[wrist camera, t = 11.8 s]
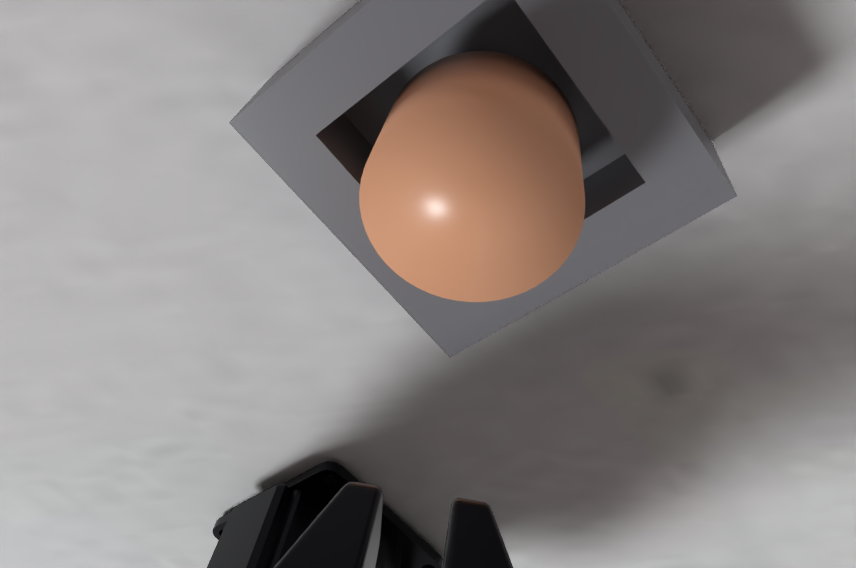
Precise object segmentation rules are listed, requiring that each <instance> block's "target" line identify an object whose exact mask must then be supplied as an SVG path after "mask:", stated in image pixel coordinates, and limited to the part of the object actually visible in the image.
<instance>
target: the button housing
mask: <svg viewBox="0 0 856 568" xmlns="http://www.w3.org/2000/svg"><path fill="white" fill-rule="evenodd" d="M470 51H491V52H499V53H503V54H508V55H511V56H514V57H517V58H520V59H522V60H524V61H526V62H528V63H530V64H532V65H534V66H535V67H537V68H538V69H540V70H541V71H543V72H544V73H545V74H546V75H547V76H548V77H550V78H551V79H552V80H553V81H554V82H555V83H556V85H557V86H558V87H559V88H560V89H561V91H562V92H563V93H564V95H565V97H566V98H567V100H568V101H569V103H570V106H571V108H572V110H573V112H574V115H575V119H576V122H577V126H578V133H579V142H580V152H581V162H582V172H583V182H584V192H585V215H584V221H583V226H582V229H581V233H580V236H579V239H578V241H577V243H576V245H575V247H574V249H573V251H572V252H571V254H570V255H569V256H568V258H567V259H566V261H565V262H564V263H563V264H562V265H561V266H560V268H559V269H558V270H557V271H556V272H555V273H553V274H552V275H551V276H550V277H549V278H548V279H546V280H545V281H543V282H542V283H540V284H539V285H537V286H536V287H534V288H532V289H530V290H528V291H526V292H524V293H521V294H518V295H516V296H513V297H510V298H505V299H501V300H496V301H488V302H464V301H456V300H451V299H446V298H442V297H439V296H436V295H433V294H430V293H428V292H426V291H423V290H421V289H419V288H417V287H415V286H414V285H412V284H410V283H409V282H407V281H405V280H404V279H403V278H401V277H400V276H399V275H398V274H396V273H395V272H394V271H393V270H392V269H391V268H390V267H389V266H388V265H387V264H386V263H385V262H384V261H383V259H382V258H381V257H380V256H379V255H378V253H377V252H376V250H375V248H374V247H373V245H372V244H371V242H370V240H369V238H368V235H367V233H366V231H365V228H364V225H363V221H362V218H361V212H360V204H359V191H360V183H361V177H362V174H363V170H364V167H365V164H366V162H367V160H368V158H369V156H370V153H371V151H372V149H373V147H374V145H375V143H376V140H377V138H378V136H379V134H380V132H381V130H382V128H383V125H384V123H385V121H386V119H387V117H388V115H389V112H390V110H391V108H392V106H393V104H394V102H395V100H396V98H397V96H398V95H399V93H400V92H401V90H402V89H403V88H404V86H405V85H406V84H407V83H408V82H409V81H410V80H411V79H412V78H413V77H414V76H415V75H416V74H417V73H418V72H419V71H421V70H422V69H424V68H425V67H427V66H428V65H430V64H432V63H434V62H436V61H438V60H440V59H442V58H445V57H448V56H451V55H454V54H458V53H463V52H470ZM229 123H230V124H231V125H232V126H233V128H234V129H235V130H236V131H237V132H238V133H239V134H240V135H241V136H242V137H243V138H244V139H245V140H246V141H247V142H248V143H249V145H250V146H251V147H252V148H253V149H254V150H255V151H256V152H257V153H258V154H259V155H260V156H261V157H262V158H263V159H264V160H265V162H266V163H267V164H268V165H269V166H270V167H271V168H272V169H273V170H274V171H275V172H276V173H277V174H278V175H279V176H280V177H281V179H282V180H283V181H284V182H285V183H286V184H287V185H288V186H289V187H290V188H291V189H292V190H293V191H294V192H295V193H296V195H297V196H298V197H299V198H300V199H301V200H302V201H303V202H304V203H305V204H306V205H307V206H308V207H309V208H310V209H311V210H312V212H313V213H314V214H315V215H316V216H317V217H318V218H319V219H320V220H321V221H322V222H323V223H324V224H325V225H326V226H327V227H328V229H329V230H330V231H331V232H332V233H333V234H334V235H335V236H336V237H337V238H338V239H339V240H340V241H341V242H342V243H343V244H344V246H345V247H346V248H347V249H348V250H349V251H350V252H351V253H352V254H353V255H354V256H355V257H356V258H357V259H358V260H359V261H360V263H361V264H362V265H363V266H364V267H365V268H366V269H367V270H368V271H369V272H370V273H371V274H372V275H373V276H374V277H375V278H376V280H377V281H378V282H379V283H380V284H381V285H382V286H383V287H384V288H385V289H386V290H387V291H388V292H389V293H390V294H391V295H392V297H393V298H394V299H395V300H396V301H397V302H398V303H399V304H400V305H401V306H402V307H403V308H404V309H405V310H406V311H407V313H408V314H409V315H410V316H411V317H412V318H413V319H414V320H415V321H416V322H417V323H418V324H419V325H420V326H421V327H422V328H423V330H424V331H425V332H426V333H427V334H428V335H429V336H430V337H431V338H432V339H433V340H434V341H435V342H436V343H437V344H438V345H439V347H440V348H441V349H442V350H443V351H444V352H445V353H446V354H447V355H448V356H449V357H451V356H453V355H455V354H456V353H458V352H460V351H462V350H464V349H465V348H467V347H469V346H471V345H472V344H474V343H476V342H478V341H480V340H481V339H483V338H485V337H487V336H488V335H490V334H492V333H494V332H496V331H497V330H499V329H501V328H503V327H505V326H506V325H508V324H510V323H512V322H513V321H515V320H517V319H519V318H521V317H522V316H524V315H526V314H528V313H529V312H531V311H533V310H535V309H537V308H538V307H540V306H542V305H544V304H545V303H547V302H549V301H551V300H553V299H554V298H556V297H558V296H560V295H561V294H563V293H565V292H567V291H569V290H570V289H572V288H574V287H576V286H577V285H579V284H581V283H583V282H585V281H586V280H588V279H590V278H592V277H593V276H595V275H597V274H599V273H601V272H602V271H604V270H606V269H608V268H609V267H611V266H613V265H615V264H617V263H618V262H620V261H622V260H624V259H625V258H627V257H629V256H631V255H633V254H634V253H636V252H638V251H640V250H641V249H643V248H645V247H647V246H649V245H650V244H652V243H654V242H656V241H657V240H659V239H661V238H663V237H665V236H666V235H668V234H670V233H672V232H673V231H675V230H677V229H679V228H681V227H682V226H684V225H686V224H688V223H689V222H691V221H693V220H695V219H697V218H698V217H700V216H702V215H704V214H705V213H707V212H709V211H711V210H713V209H714V208H716V207H718V206H720V205H721V204H723V203H725V202H727V201H729V200H730V199H732V198H734V197H736V196H737V195H736V193H735V191H734V188H733V186H732V184H731V182H730V180H729V178H728V176H727V173H726V171H725V169H724V167H723V165H722V163H721V161H720V158H719V156H718V154H717V152H716V150H715V148H714V146H713V143H712V142H711V140H710V138H709V137H708V135H707V134H706V132H705V131H704V129H703V128H702V126H701V125H700V123H699V122H698V120H697V119H696V117H695V116H694V114H693V113H692V111H691V110H690V108H689V107H688V105H687V104H686V102H685V100H684V99H683V97H682V96H681V94H680V93H679V91H678V90H677V88H676V87H675V85H674V84H673V82H672V81H671V79H670V78H669V76H668V75H667V73H666V72H665V70H664V69H663V67H662V66H661V64H660V63H659V61H658V59H657V58H656V56H655V55H654V53H653V52H652V50H651V49H650V47H649V46H648V44H647V43H646V41H645V40H644V38H643V37H642V35H641V34H640V32H639V31H638V29H637V28H636V26H635V25H634V23H633V21H632V20H631V18H630V17H629V15H628V14H627V12H626V11H625V9H624V8H623V6H622V5H621V3H620V2H619V0H360V1H359V2H358V3H356V4H355V5H354V6H353V7H352V8H351V9H349V10H348V11H347V12H346V13H345V14H344V15H343V16H341V17H340V18H339V19H338V20H337V21H336V22H335V23H333V24H332V25H331V26H330V27H329V28H328V29H326V30H325V31H324V32H323V33H322V34H321V35H320V36H318V37H317V38H316V39H315V40H314V41H313V42H312V43H310V44H309V45H308V46H307V47H306V48H305V49H303V50H302V51H301V52H300V53H299V54H298V55H297V56H295V57H294V58H293V59H292V60H291V61H290V62H289V63H287V64H286V65H285V66H284V67H283V68H282V69H281V70H279V71H278V72H277V73H276V74H275V75H274V76H272V77H271V78H270V79H269V80H268V81H267V82H266V83H265V84H264V85H263V86H262V88H261V89H260V90H259V91H258V92H257V93H256V94H255V95H254V96H253V97H252V98H251V100H250V101H249V102H248V103H247V104H246V105H245V106H244V107H243V108H242V109H241V110H240V111H239V113H238V114H237V115H236V116H235V117H234V118H233V119H232V120H231V121H230V122H229Z"/></svg>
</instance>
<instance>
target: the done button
mask: <svg viewBox="0 0 856 568" xmlns="http://www.w3.org/2000/svg"><path fill="white" fill-rule="evenodd" d="M359 204H360V212H361V218H362V221H363V225H364V228H365V231H366V233H367V235H368V238H369V240H370V242H371V244H372V245H373V247H374V248H375V250H376V252H377V253H378V255H379V256H380V257H381V258H382V259H383V261H384V262H385V263H386V264H387V265H388V266H389V267H390V268H391V269H392V270H393V271H394V272H395V273H396V274H398V275H399V276H400V277H401V278H403V279H404V280H405V281H407V282H409V283H410V284H412V285H414V286H415V287H417V288H419V289H421V290H423V291H426V292H428V293H430V294H433V295H436V296H439V297H442V298H446V299H451V300H456V301H464V302H488V301H496V300H501V299H505V298H510V297H513V296H516V295H518V294H521V293H524V292H526V291H528V290H530V289H532V288H534V287H536V286H537V285H539V284H540V283H542V282H543V281H545V280H546V279H548V278H549V277H550V276H551V275H552V274H553V273H555V272H556V271H557V270H558V269H559V268H560V266H561V265H562V264H563V263H564V262H565V261H566V259H567V258H568V256H569V255H570V254H571V252H572V251H573V249H574V247H575V245H576V243H577V241H578V239H579V236H580V233H581V229H582V226H583V221H584V215H585V192H584V182H583V172H582V162H581V152H580V142H579V133H578V126H577V122H576V119H575V115H574V112H573V110H572V108H571V106H570V103H569V101H568V100H567V98H566V97H565V95H564V93H563V92H562V91H561V89H560V88H559V87H558V86H557V85H556V83H555V82H554V81H553V80H552V79H551V78H550V77H548V76H547V75H546V74H545V73H544V72H543V71H541V70H540V69H538V68H537V67H535V66H534V65H532V64H530V63H528V62H526V61H524V60H522V59H520V58H517V57H514V56H511V55H508V54H503V53H499V52H491V51H470V52H463V53H458V54H454V55H451V56H448V57H445V58H442V59H440V60H438V61H436V62H434V63H432V64H430V65H428V66H427V67H425V68H424V69H422V70H421V71H419V72H418V73H417V74H416V75H415V76H414V77H413V78H412V79H411V80H410V81H409V82H408V83H407V84H406V85H405V86H404V88H403V89H402V90H401V92H400V93H399V95H398V96H397V98H396V100H395V102H394V104H393V106H392V108H391V110H390V112H389V115H388V117H387V119H386V121H385V123H384V125H383V128H382V130H381V132H380V134H379V136H378V138H377V140H376V143H375V145H374V147H373V149H372V151H371V153H370V156H369V158H368V160H367V162H366V164H365V167H364V170H363V174H362V177H361V183H360V191H359Z"/></svg>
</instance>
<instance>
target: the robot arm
mask: <svg viewBox="0 0 856 568" xmlns="http://www.w3.org/2000/svg"><path fill="white" fill-rule="evenodd" d="M329 475H332V476H333V477H332V476H329ZM213 534H214V536H215V537H216V538H217V539H218V540H219V541H218V543H217V546H216V548H215V550H214V553H213V555H212V557H211V560H210V562H209V564H208V567H207V568H513V566H512V563H511V560H510V558H509V555H508V552H507V550H506V547H505V544H504V542H503V539H502V536H501V534H500V531H499V528H498V525H497V523H496V520H495V517H494V515H493V512H492V510H491V508H490V506H489V505H488V504H487V503H485V502H481V501H475V500H468V499H462V498H457V499H454V500H453V502H452V504H451V510H450V517H449V524H448V531H447V537H446V544H445V551H444V559H443V558H442V557H441V556H440V555H439V554H438V553H437V552H436V551H435V550H434V549H433V548H432V547H431V546H429V545H428V544H427V543H426V542H425V541H424V540H423V539H422V538H421V537H420V536H418V535H417V534H416V533H415V532H414V531H413V530H412V529H411V528H410V527H409V526H407V525H406V524H405V523H404V522H403V521H402V520H401V519H400V518H399V517H398V516H396V515H395V514H394V513H393V512H392V511H391V510H390V509H389V508H388V507H387V506H385V505H384V504H383V490H382V488H381V487H379V486H377V485H371V484H364V483H360V482H359V481H358V480H357V479H356V478H355V477H354V476H352V475H351V474H350V473H349V472H348V471H347V470H346V469H345V468H344V467H343V466H341V465H340V464H338V463H335V462H324V463H321V464H319V465H318V466H316V467H314V468H312V469H310V470H308V471H306V472H305V473H303V474H301V475H299V476H297V477H295V478H293V479H291V480H290V481H288V482H286V483H284V484H279V485H275V486H273V487H271V488H270V489H268V490H266V491H264V492H262V493H260V494H258V495H257V496H255V497H253V498H251V499H249V500H247V501H245V502H244V503H242V504H240V505H238V506H236V507H234V508H233V509H232V511H231V512H230V513H228V514H226V515H224V516H222V517H221V518H219V519H218V520H217V522H216V524H215V526H214V528H213Z"/></svg>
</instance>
